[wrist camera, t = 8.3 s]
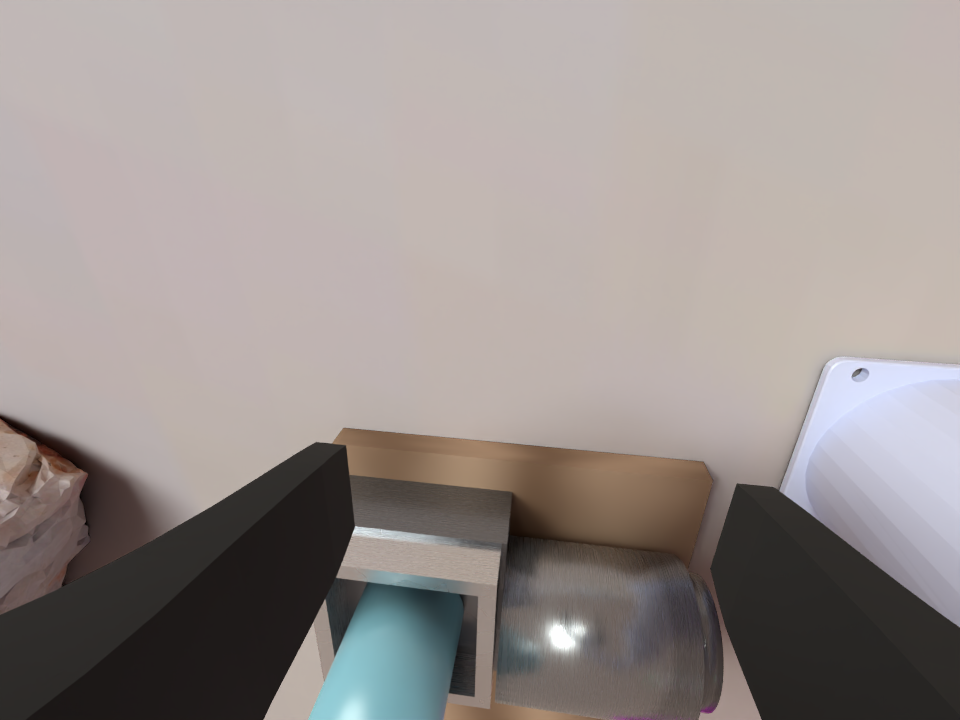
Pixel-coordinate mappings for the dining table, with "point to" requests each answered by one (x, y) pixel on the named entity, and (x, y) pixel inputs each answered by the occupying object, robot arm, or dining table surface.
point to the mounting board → (550, 501)
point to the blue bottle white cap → (394, 657)
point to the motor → (535, 606)
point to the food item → (36, 518)
